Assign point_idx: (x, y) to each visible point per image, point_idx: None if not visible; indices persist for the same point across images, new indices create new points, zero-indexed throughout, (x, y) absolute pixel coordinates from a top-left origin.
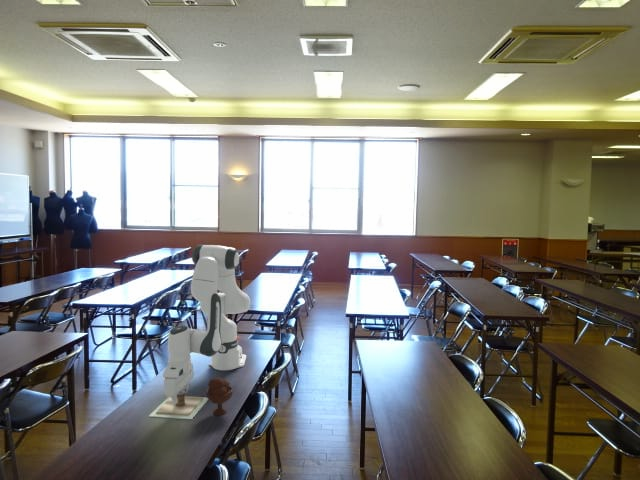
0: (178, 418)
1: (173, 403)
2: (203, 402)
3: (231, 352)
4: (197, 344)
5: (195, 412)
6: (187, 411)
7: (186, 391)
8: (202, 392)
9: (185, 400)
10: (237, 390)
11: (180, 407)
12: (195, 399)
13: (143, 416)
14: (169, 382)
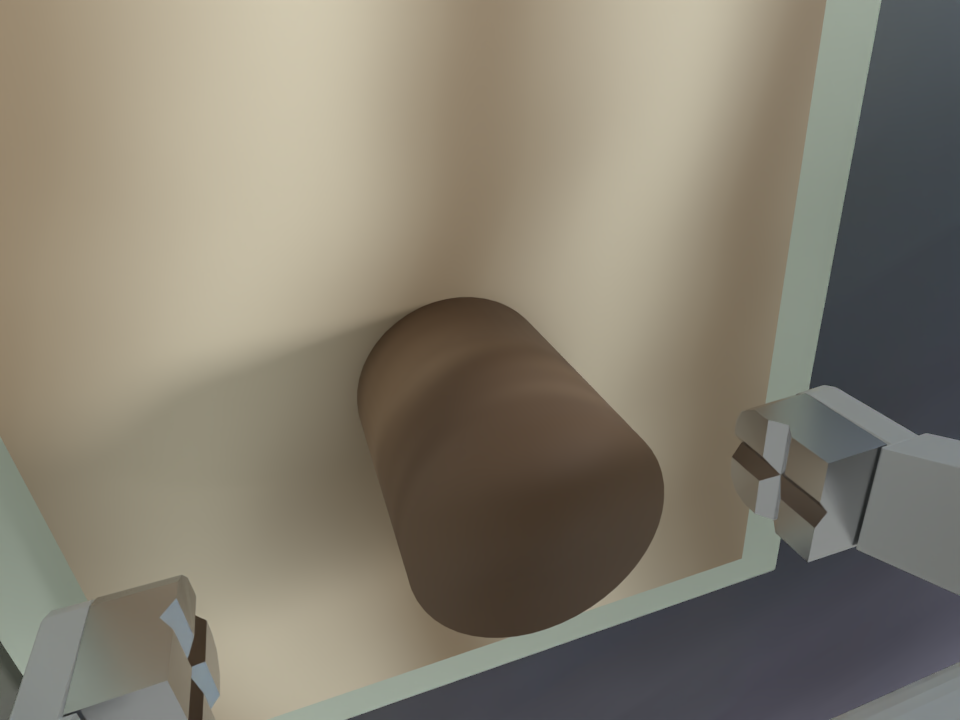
0: (3, 625)
1: (62, 628)
2: (635, 601)
3: None
4: None
5: (316, 713)
6: (238, 678)
7: (775, 517)
8: (951, 366)
9: (636, 372)
10: (927, 670)
11: (337, 475)
12: (683, 504)
13: None
14: None
